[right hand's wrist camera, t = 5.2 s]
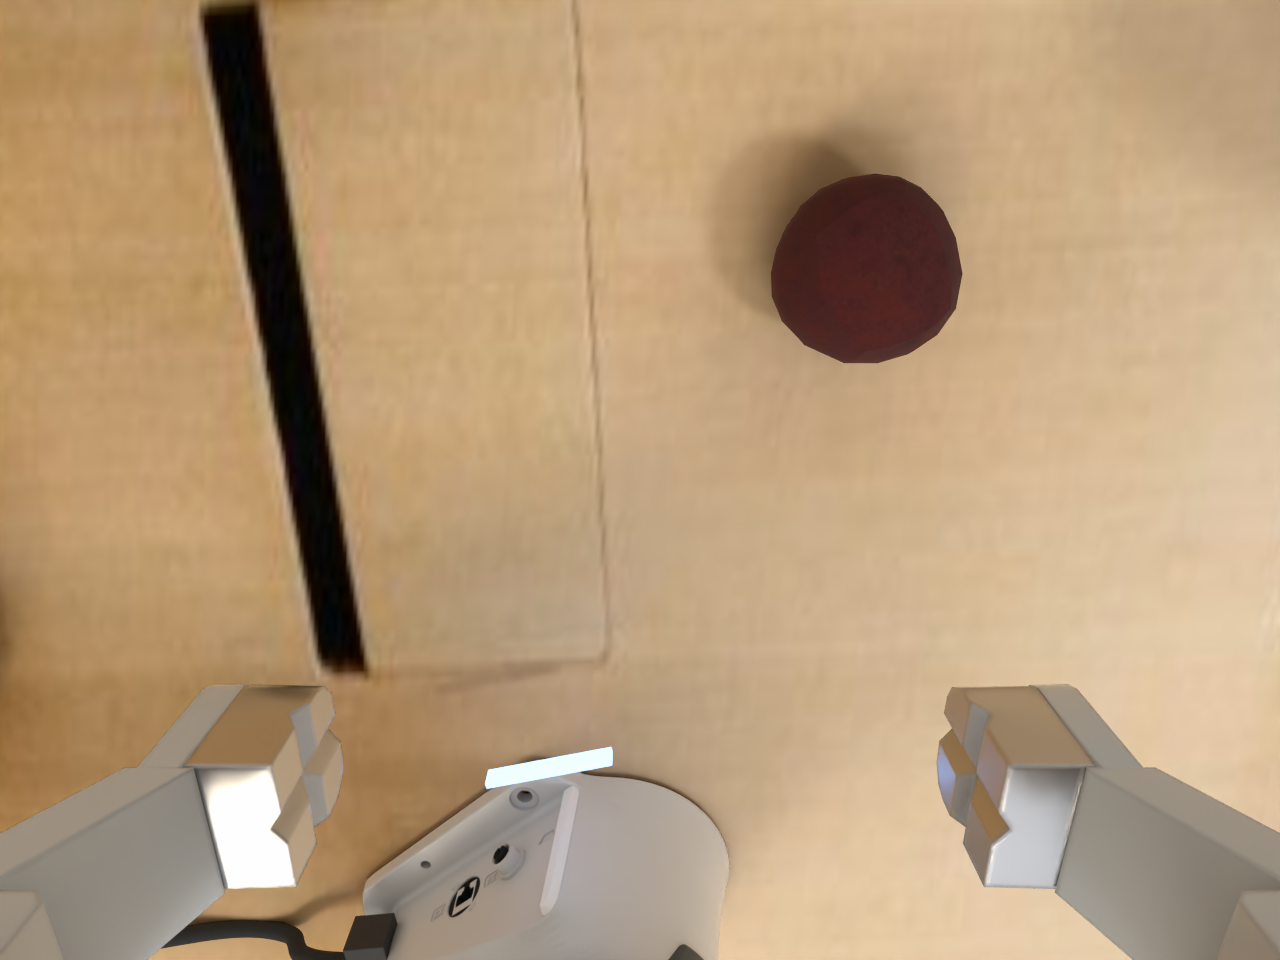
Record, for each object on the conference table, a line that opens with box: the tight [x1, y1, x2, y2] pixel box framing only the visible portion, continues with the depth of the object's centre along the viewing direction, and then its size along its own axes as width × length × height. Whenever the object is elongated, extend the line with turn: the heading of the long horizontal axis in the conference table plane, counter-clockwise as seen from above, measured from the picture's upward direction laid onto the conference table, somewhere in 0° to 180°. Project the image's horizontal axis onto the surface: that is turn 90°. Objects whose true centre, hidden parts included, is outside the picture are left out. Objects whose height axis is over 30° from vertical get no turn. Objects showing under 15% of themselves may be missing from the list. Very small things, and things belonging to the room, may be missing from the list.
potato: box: [771, 174, 962, 363], centre depth 33 cm, size 7×8×7 cm
